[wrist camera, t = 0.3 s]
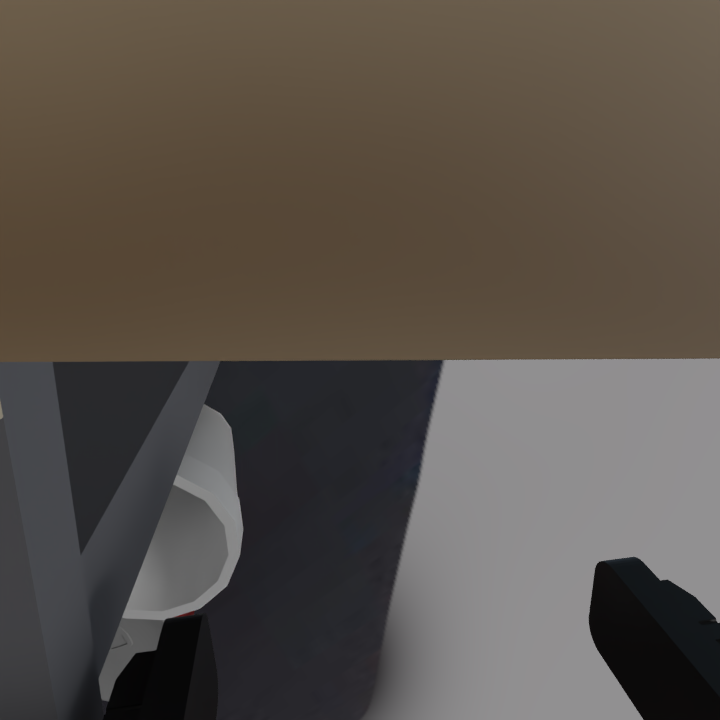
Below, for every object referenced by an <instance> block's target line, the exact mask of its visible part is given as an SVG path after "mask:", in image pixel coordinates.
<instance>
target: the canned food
mask: <svg viewBox="0 0 720 720" xmlns="http://www.w3.org/2000/svg"><path fill="white" fill-rule="evenodd" d="M188 615H194V611H191V612H188V613H185V614H182V615H179V616H175V617H181V616H188ZM172 618H173V617H172ZM164 621H165V620H149V619H126V618H122V619H121V621H120V624H119V627H118V629H117V632H116V634H115V637H114V640H113V642H112V645H111V647H110V650H109V653H108V655H107V658H106V661H105V663H104V666H103V668H102V671H101V674H100V676H99V686H100V692H101V699H102V700H104V701H109V699H110V696H111V693H112V690H113V687H114V684H115V681H116V679H117V677H118V676H119V675H120V673H121V672H122V671H123V669H124V668H125V667H126V665H127V664H128V663H129V661H130V660H131V659H132V657H133V656H134V655H135V653H140V652H147V651H154V650H156V649H157V645H158V641H159V637H160V633H161V630H162V626H163V623H164Z"/></svg>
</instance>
